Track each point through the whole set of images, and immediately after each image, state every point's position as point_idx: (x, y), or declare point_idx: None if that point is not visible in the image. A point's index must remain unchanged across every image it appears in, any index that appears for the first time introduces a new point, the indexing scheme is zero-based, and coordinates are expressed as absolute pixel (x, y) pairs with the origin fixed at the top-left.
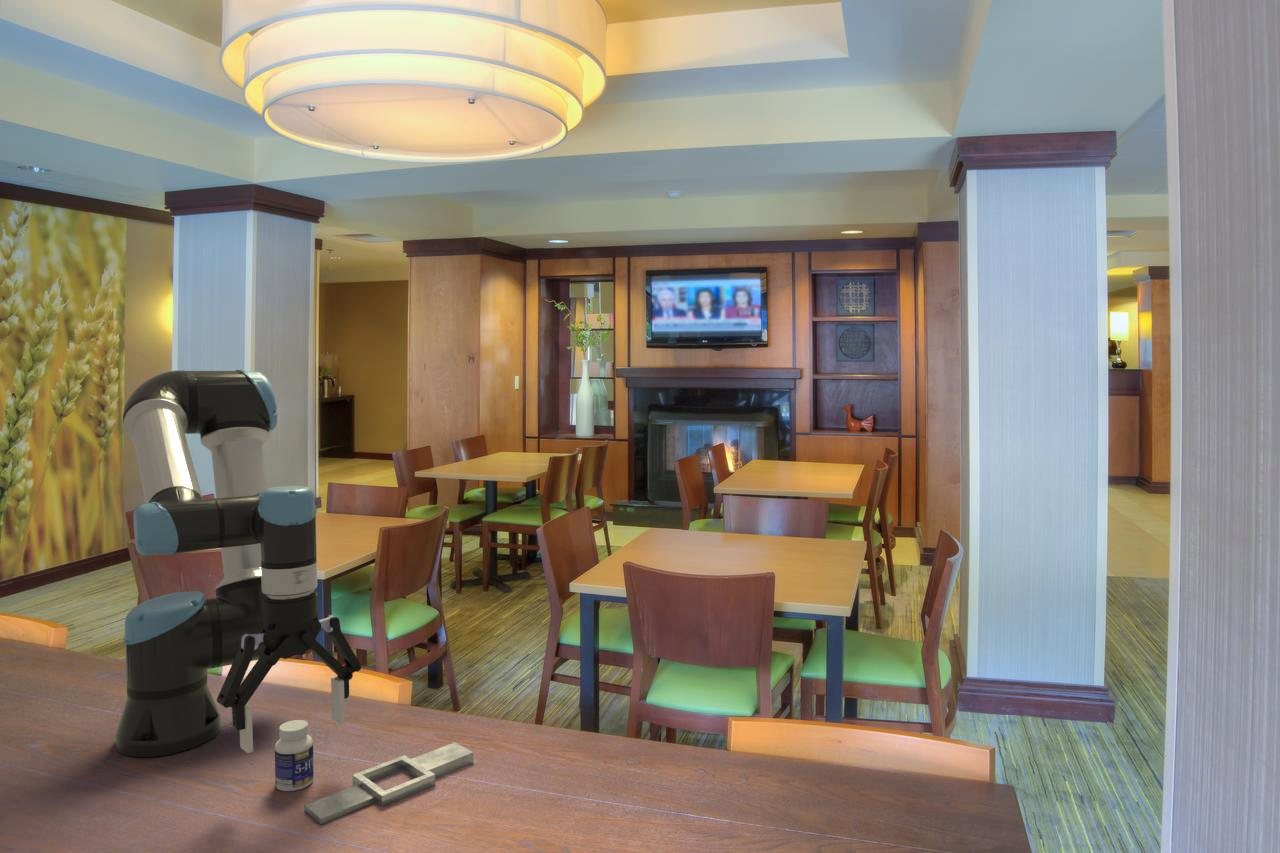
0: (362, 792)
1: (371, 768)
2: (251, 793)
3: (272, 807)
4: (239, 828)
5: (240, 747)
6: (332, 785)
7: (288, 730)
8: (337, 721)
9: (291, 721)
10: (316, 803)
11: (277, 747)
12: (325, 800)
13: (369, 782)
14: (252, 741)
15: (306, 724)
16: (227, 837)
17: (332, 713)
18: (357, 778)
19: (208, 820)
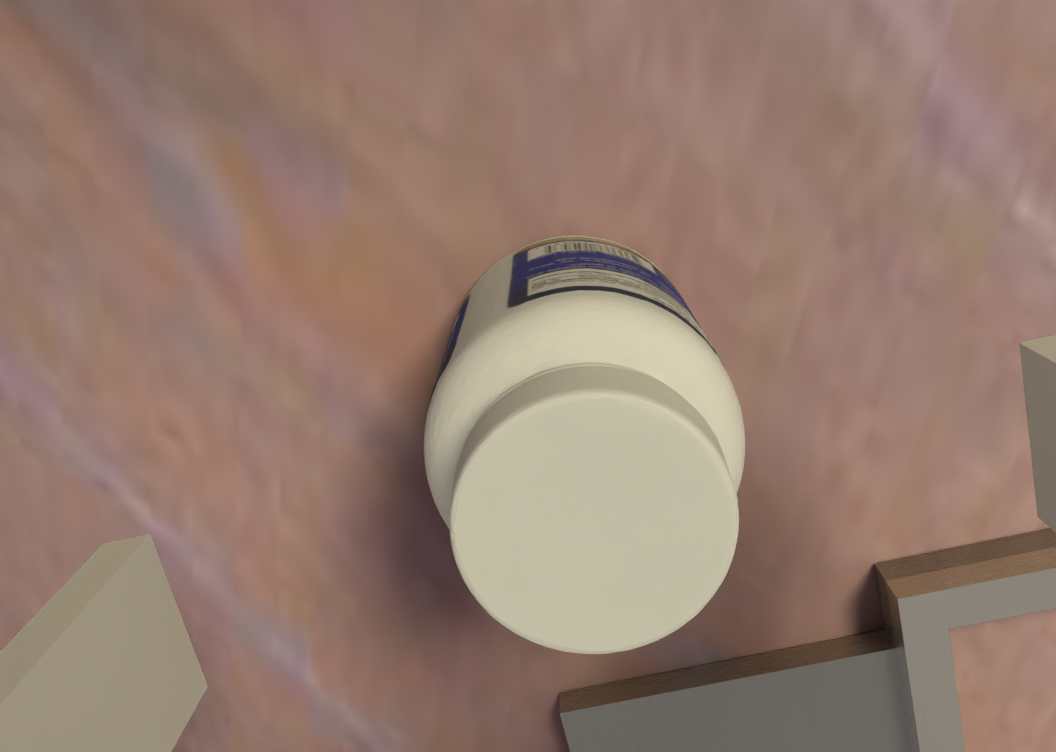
0: (879, 744)
1: (1033, 581)
2: (307, 336)
3: (405, 568)
4: (226, 687)
5: (104, 546)
6: (770, 499)
7: (522, 621)
8: (1034, 460)
9: (592, 421)
10: (621, 726)
11: (437, 499)
12: (673, 721)
13: (946, 741)
14: (171, 745)
15: (713, 578)
16: None
17: (1050, 376)
18: (905, 658)
19: (68, 526)
